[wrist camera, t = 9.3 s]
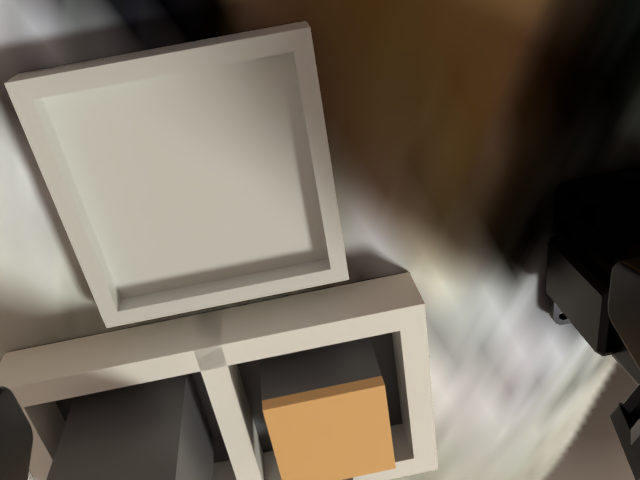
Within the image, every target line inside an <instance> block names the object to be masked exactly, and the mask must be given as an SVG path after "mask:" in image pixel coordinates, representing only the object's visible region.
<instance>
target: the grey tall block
mask: <svg viewBox="0 0 640 480" xmlns="http://www.w3.org/2000/svg"><path fill="white" fill-rule="evenodd" d="M213 465H214V439H213V436H212V433H211V430H210V428H209V425H208V422H207V419H206V416H205V413H204V411H203V408H202V405H201V402H200V399H199V396H198V394H197V391H196V388H195V385H194V382H193V380H192V377H191V374H185V375H180V376H175V377H170V378H166V379H161V380H156V381H151V382H146V383H141V384H136V385H131V386H126V387H121V388H116V389H112V390H107V391H102V392H97V393H92V394H87V395H82V396H77V397H74V398H73V401H72V404H71V407H70V410H69V413H68V416H67V419H66V422H65V425H64V428H63V431H62V434H61V437H60V440H59V443H58V446H57V449H56V452H55V455H54V458H53V461H52V464H51V467H50V470H49V473H48V476H47V479H46V480H213Z"/></svg>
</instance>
